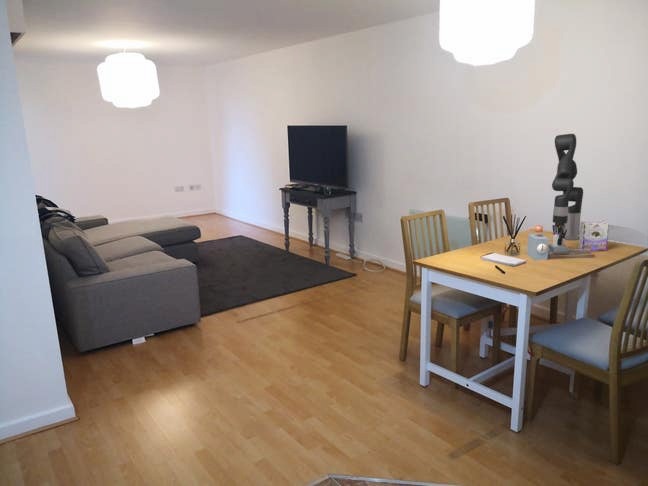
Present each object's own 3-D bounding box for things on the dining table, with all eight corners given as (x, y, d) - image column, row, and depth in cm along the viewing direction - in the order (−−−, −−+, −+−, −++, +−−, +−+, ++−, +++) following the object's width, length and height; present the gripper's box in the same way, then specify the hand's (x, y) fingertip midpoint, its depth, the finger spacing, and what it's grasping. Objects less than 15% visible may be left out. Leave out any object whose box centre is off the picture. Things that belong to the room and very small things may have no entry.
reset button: (533, 230, 282) (533, 225, 281) (540, 230, 282) (541, 225, 281) (536, 232, 278) (536, 227, 277) (543, 232, 278) (543, 226, 277)
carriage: (547, 248, 286) (548, 233, 284) (561, 247, 286) (562, 233, 284) (553, 251, 278) (554, 237, 276) (568, 251, 278) (569, 236, 276)
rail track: (540, 254, 288) (540, 248, 287) (586, 252, 287) (586, 247, 287) (547, 259, 278) (548, 253, 278) (594, 257, 278) (595, 251, 277)
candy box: (602, 248, 296) (605, 221, 292) (606, 250, 290) (609, 223, 286) (578, 248, 298) (580, 221, 294) (581, 251, 292) (584, 223, 288)
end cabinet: (526, 254, 289) (527, 234, 286) (538, 253, 289) (540, 233, 286) (535, 260, 277) (536, 239, 274) (547, 259, 277) (549, 238, 274)
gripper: (548, 212, 284) (546, 241, 288) (559, 216, 271) (556, 247, 275) (561, 211, 284) (559, 241, 288) (573, 216, 270) (570, 247, 275)
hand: (558, 244), depth 281 cm, fingers closed on carriage, 2 cm apart
